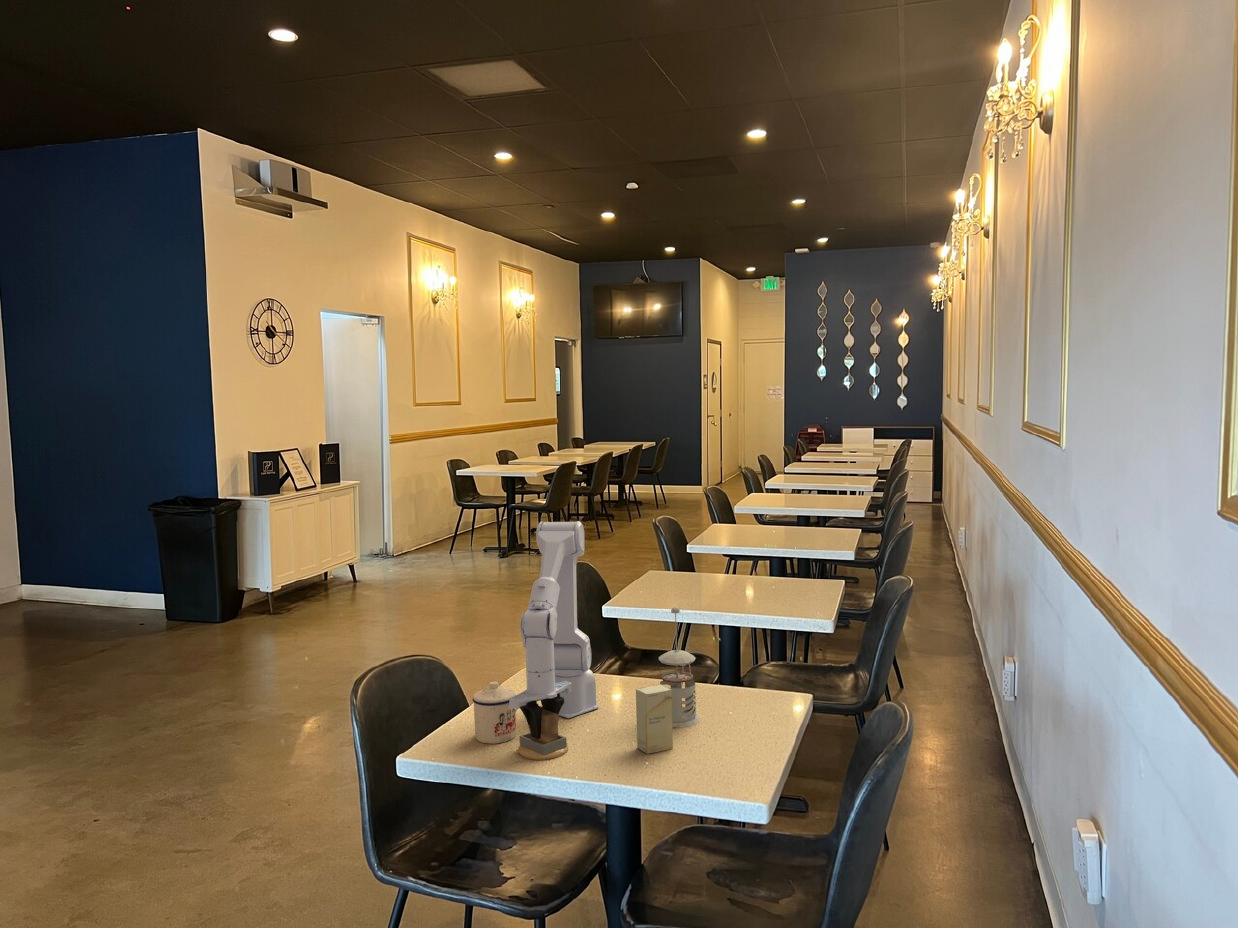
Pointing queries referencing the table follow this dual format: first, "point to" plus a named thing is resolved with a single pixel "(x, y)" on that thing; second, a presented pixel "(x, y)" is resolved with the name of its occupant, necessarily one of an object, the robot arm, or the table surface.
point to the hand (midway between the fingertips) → (542, 734)
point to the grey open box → (542, 748)
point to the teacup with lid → (494, 714)
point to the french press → (674, 679)
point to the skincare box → (654, 718)
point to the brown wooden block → (548, 728)
